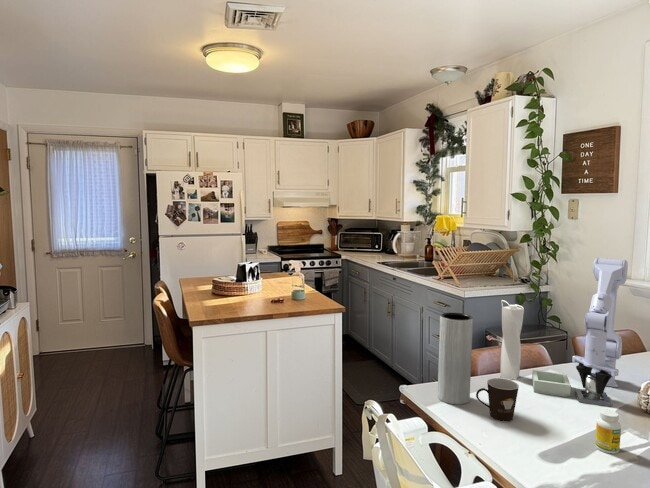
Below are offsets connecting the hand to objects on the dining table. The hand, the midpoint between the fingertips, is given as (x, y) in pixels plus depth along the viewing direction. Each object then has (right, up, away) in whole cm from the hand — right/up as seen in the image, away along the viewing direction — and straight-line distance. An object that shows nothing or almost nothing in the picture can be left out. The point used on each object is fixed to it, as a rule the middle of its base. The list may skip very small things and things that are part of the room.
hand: (592, 390), depth 149 cm
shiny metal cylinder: (0, -2, 0) cm, 2 cm away
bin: (-10, -2, +8) cm, 13 cm away
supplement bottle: (-14, -6, -31) cm, 34 cm away
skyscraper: (-19, -1, +19) cm, 27 cm away
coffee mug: (-36, -4, -13) cm, 38 cm away
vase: (-45, -3, 0) cm, 45 cm away
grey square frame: (0, -3, 0) cm, 3 cm away
